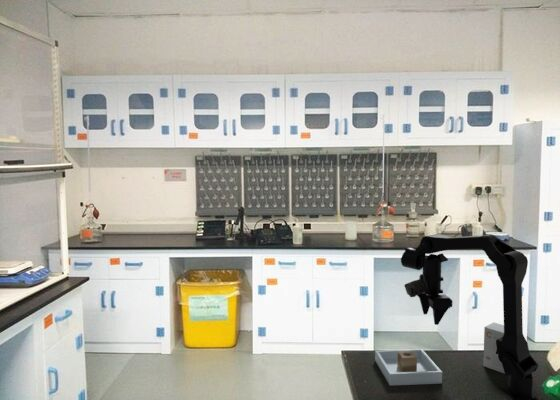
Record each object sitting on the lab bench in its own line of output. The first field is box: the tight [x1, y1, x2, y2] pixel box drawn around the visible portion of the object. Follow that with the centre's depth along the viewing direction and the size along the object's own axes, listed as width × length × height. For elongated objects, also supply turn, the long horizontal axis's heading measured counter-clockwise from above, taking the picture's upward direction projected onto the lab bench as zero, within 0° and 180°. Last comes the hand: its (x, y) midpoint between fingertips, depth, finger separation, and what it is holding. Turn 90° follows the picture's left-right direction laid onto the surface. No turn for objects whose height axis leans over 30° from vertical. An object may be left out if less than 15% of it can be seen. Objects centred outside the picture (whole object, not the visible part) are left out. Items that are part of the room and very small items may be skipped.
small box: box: [482, 322, 506, 375], centre depth 138 cm, size 8×6×13 cm
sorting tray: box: [374, 348, 443, 386], centre depth 137 cm, size 16×16×4 cm
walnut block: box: [397, 351, 417, 372], centre depth 137 cm, size 4×4×5 cm
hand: (430, 319), depth 145 cm, fingers open, 9 cm apart
